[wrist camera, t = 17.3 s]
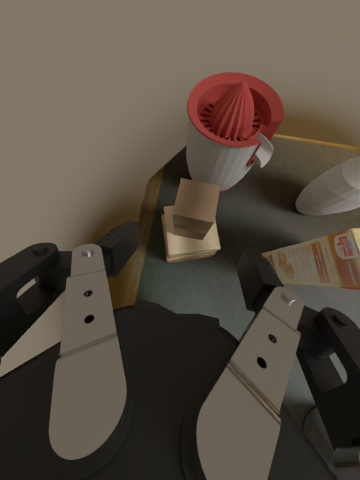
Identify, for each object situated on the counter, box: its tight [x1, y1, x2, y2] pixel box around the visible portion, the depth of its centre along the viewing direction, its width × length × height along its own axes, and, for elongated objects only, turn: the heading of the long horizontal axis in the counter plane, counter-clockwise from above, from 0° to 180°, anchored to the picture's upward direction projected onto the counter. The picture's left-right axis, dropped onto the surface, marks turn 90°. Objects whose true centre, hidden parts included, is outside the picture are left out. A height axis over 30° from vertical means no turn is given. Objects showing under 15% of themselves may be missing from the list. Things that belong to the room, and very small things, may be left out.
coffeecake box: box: [261, 228, 360, 289], centre depth 26 cm, size 15×7×20 cm, turn 93°
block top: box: [164, 205, 221, 258], centre depth 29 cm, size 9×9×5 cm
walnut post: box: [173, 178, 220, 240], centre depth 23 cm, size 5×5×9 cm
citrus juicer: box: [186, 72, 284, 193], centre depth 31 cm, size 16×17×20 cm
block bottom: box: [162, 215, 215, 263], centre depth 34 cm, size 10×10×5 cm
